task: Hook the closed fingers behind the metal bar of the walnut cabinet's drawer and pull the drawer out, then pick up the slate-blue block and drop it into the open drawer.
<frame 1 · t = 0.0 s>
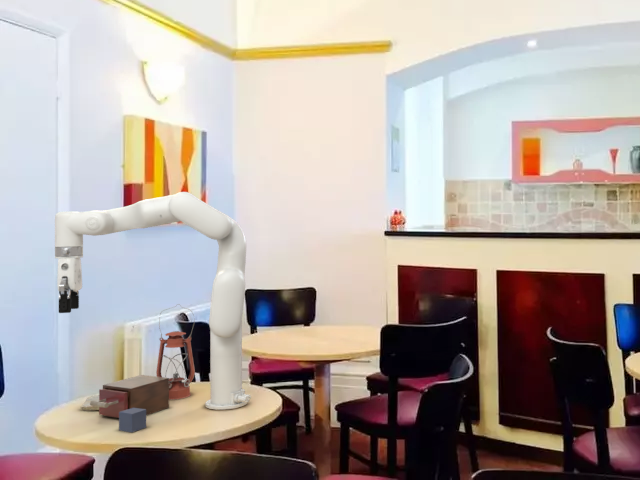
hand: (68, 310, 203), 31 cm above the table, tool pointing down, fingers open, 9 cm apart
stone: (104, 406, 214), on the table
drawer: (123, 400, 203), point 5 cm above the table, slide at 0.5 cm
block: (132, 428, 189), on the table
cabinet: (136, 411, 207), on the table
lantern: (176, 396, 225), on the table
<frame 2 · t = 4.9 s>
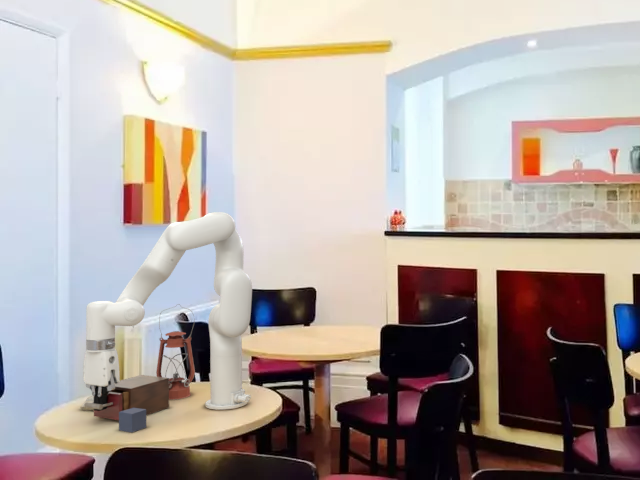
hand: (100, 409, 195), 4 cm above the table, tool pointing down, fingers closed
drawer: (118, 401, 201), point 5 cm above the table, slide at 2.4 cm, touching gripper
everything else where it was.
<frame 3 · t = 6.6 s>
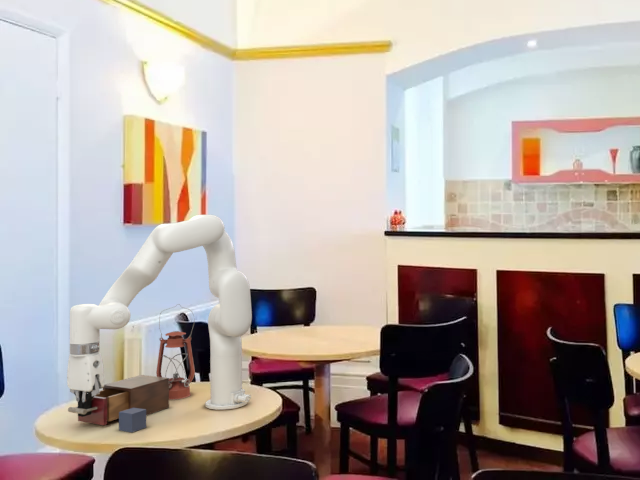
hand: (84, 415, 191), 4 cm above the table, tool pointing down, fingers closed
drawer: (103, 406, 196), point 5 cm above the table, slide at 7.6 cm, touching gripper
everything else where it was.
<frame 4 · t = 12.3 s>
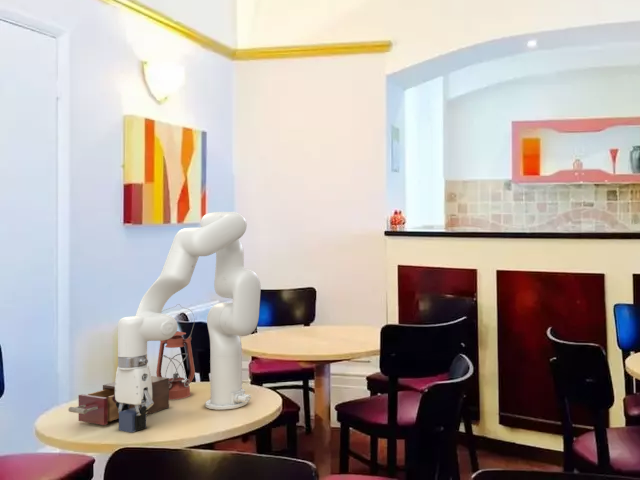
hand: (132, 427, 189), 0 cm above the table, tool pointing down, fingers closed on block, 5 cm apart
drawer: (103, 406, 196), point 5 cm above the table, slide at 7.4 cm
block: (132, 428, 189), on the table, touching gripper
everything else where it was.
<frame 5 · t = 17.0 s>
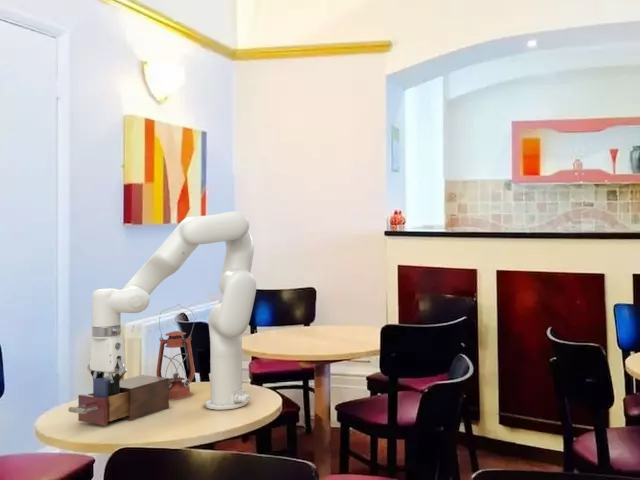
hand: (106, 394, 197), 8 cm above the table, tool pointing down, fingers closed on block, 5 cm apart
block: (106, 396, 197), point 7 cm above the table, touching gripper
everything else where it was.
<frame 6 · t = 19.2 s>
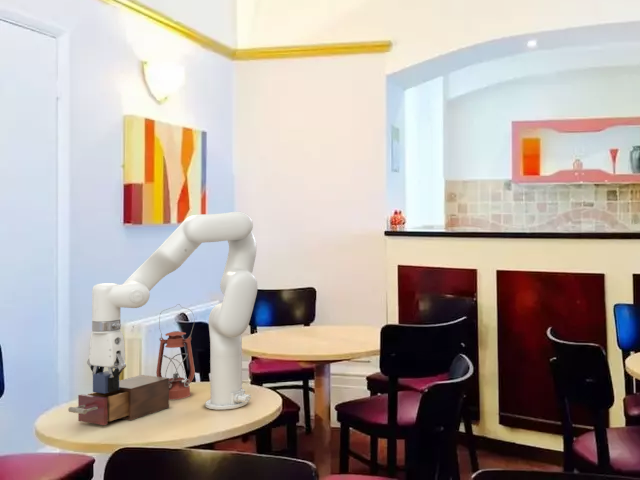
hand: (106, 389, 197), 9 cm above the table, tool pointing down, fingers closed on block, 5 cm apart
block: (106, 390, 197), point 9 cm above the table, touching gripper
everything else where it was.
when the fingers open (9 cm above the table, at t = 26.3 s): block drops 7 cm, resting on drawer.
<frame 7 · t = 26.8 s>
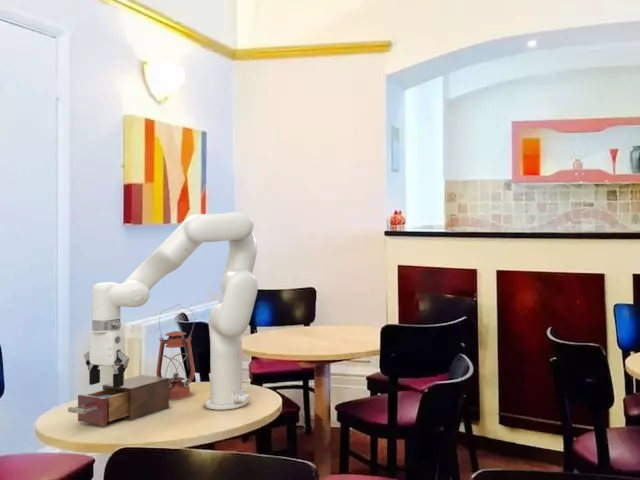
hand: (106, 385, 197), 10 cm above the table, tool pointing down, fingers open, 9 cm apart
drawer: (103, 406, 196), point 5 cm above the table, slide at 7.6 cm, touching block
block: (106, 414, 197), point 2 cm above the table, touching drawer
everything else where it was.
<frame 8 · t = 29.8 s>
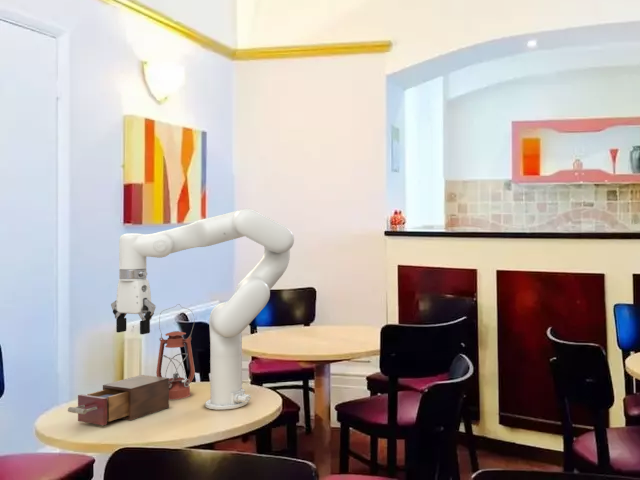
hand: (133, 332, 204), 24 cm above the table, tool pointing down, fingers open, 9 cm apart
nothing on the table moved.
at the end: drawer slide at 7.6 cm; block inside the target area in the drawer (0.3 cm from its centre), point 2.0 cm above the cabinet's base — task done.
